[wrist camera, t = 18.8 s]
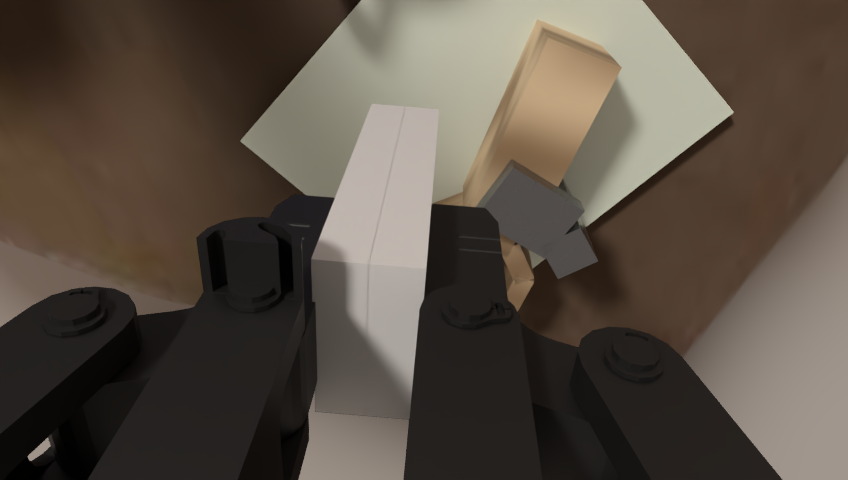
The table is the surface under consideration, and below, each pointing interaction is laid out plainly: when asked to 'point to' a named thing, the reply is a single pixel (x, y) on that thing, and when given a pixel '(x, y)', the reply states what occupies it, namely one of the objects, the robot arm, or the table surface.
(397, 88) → the board
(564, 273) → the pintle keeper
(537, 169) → the link
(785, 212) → the table surface
